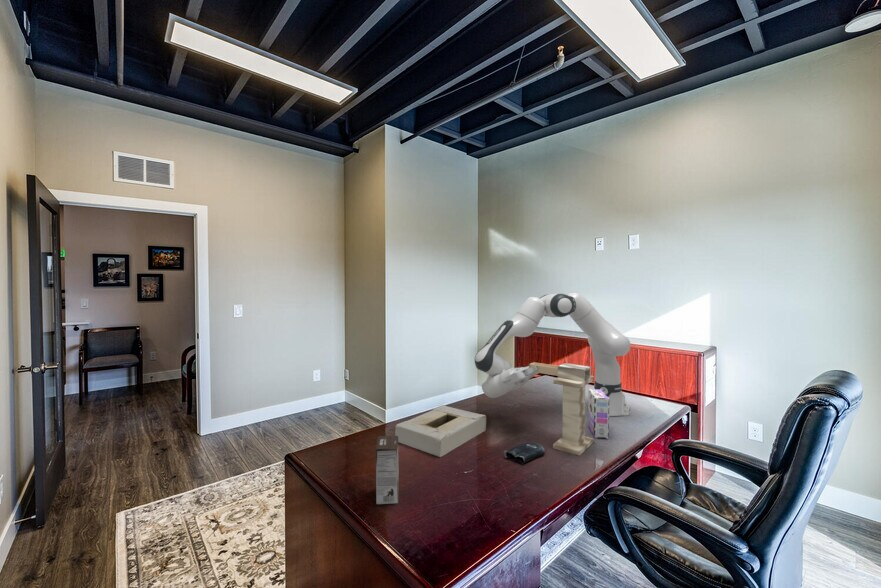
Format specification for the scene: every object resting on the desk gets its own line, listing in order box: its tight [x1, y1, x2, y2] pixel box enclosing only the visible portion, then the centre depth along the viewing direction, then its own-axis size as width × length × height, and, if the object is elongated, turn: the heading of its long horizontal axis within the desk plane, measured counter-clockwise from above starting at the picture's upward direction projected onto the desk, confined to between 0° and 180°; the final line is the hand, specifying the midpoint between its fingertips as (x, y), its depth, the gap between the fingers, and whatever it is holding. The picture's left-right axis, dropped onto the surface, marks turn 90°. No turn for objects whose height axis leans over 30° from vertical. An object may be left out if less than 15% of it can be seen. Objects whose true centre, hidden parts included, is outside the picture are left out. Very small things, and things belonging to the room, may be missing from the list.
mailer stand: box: [552, 362, 595, 456], centre depth 147 cm, size 15×10×30 cm, turn 140°
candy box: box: [587, 388, 610, 440], centre depth 160 cm, size 14×6×16 cm, turn 168°
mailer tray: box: [528, 362, 559, 377], centre depth 152 cm, size 4×18×3 cm, turn 50°
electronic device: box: [503, 441, 545, 465], centre depth 139 cm, size 9×6×15 cm
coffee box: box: [375, 435, 400, 505], centre depth 113 cm, size 9×6×16 cm
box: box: [394, 404, 487, 458], centre depth 157 cm, size 23×8×32 cm
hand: (540, 366), depth 156 cm, fingers closed on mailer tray, 4 cm apart
